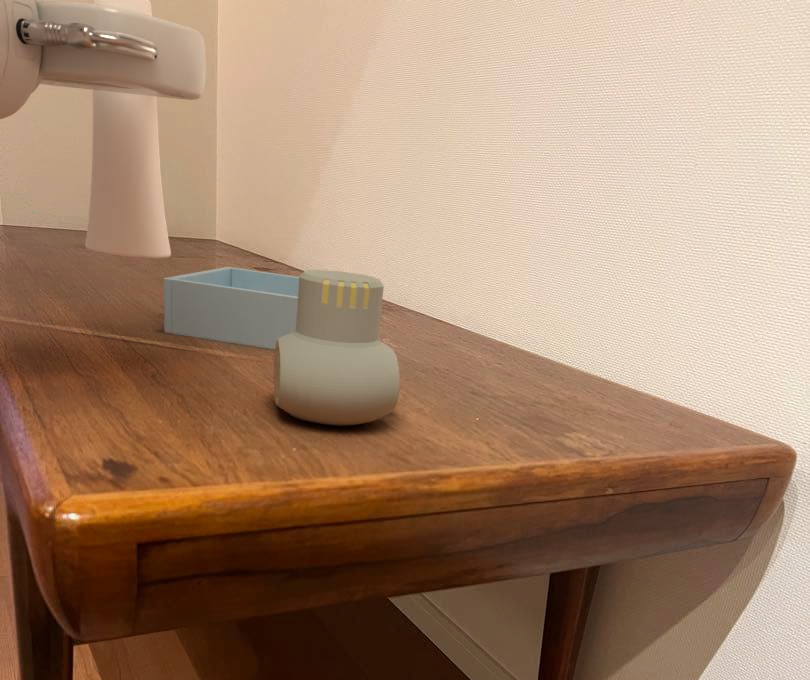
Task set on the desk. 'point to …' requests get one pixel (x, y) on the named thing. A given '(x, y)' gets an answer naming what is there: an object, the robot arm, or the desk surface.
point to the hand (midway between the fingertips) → (134, 70)
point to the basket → (232, 305)
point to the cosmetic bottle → (126, 171)
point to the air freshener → (336, 353)
